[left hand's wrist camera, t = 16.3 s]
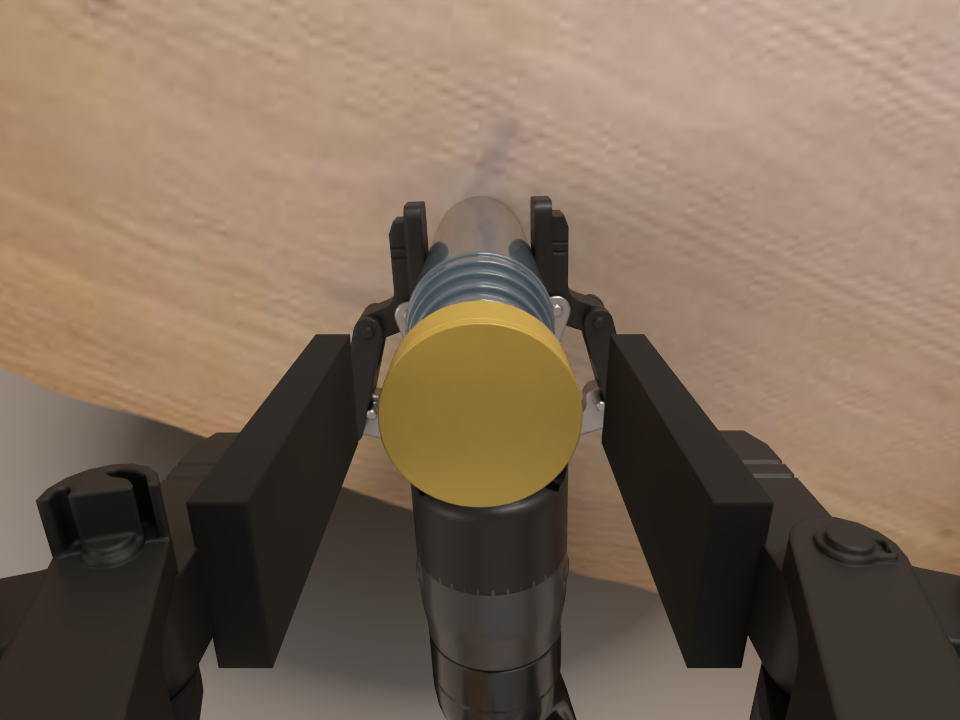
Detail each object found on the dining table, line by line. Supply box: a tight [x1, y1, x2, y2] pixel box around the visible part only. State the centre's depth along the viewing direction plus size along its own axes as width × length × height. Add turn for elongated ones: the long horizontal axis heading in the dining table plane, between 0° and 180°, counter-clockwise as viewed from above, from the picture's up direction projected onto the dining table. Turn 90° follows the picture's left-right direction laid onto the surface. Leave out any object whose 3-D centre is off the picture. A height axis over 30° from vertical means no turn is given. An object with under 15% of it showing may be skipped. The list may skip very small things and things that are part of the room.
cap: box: [378, 301, 583, 507], centre depth 14 cm, size 4×4×2 cm
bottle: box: [405, 197, 555, 336], centre depth 23 cm, size 4×4×20 cm
